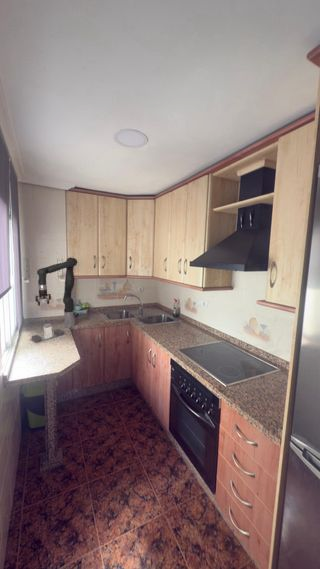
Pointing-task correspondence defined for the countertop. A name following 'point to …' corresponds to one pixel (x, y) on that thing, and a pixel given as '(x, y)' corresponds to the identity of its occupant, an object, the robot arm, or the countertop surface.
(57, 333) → the mounting plate
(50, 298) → the robot arm
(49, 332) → the grey module
